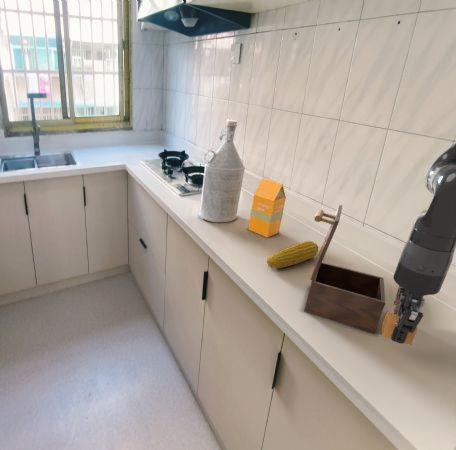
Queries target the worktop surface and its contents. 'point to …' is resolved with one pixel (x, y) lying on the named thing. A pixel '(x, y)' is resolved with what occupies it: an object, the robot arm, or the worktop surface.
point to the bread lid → (328, 237)
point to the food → (293, 255)
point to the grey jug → (222, 180)
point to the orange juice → (267, 208)
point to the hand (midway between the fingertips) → (396, 334)
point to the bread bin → (347, 297)
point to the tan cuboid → (390, 325)
